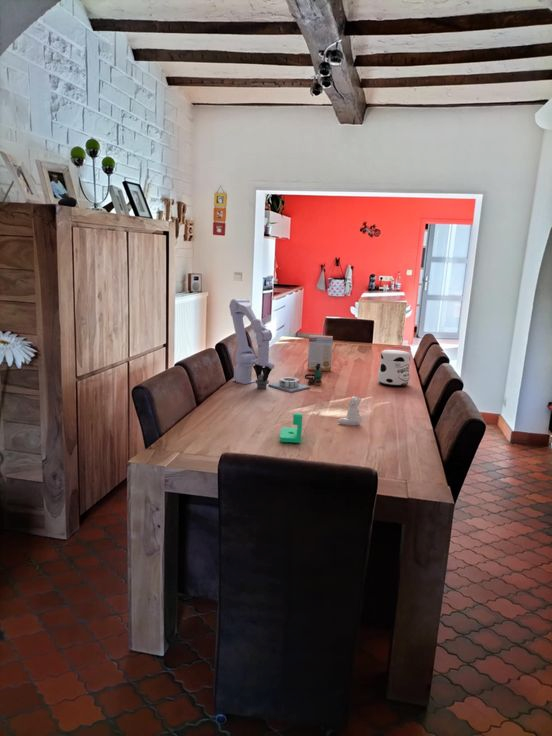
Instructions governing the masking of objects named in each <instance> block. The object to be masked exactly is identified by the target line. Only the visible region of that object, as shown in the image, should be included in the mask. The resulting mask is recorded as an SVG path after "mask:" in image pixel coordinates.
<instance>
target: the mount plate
mask: <svg viewBox="0 0 552 736" xmlns="http://www.w3.org/2000/svg"><path fill="white" fill-rule="evenodd" d="M270 386H271V387H270ZM268 387H270V388H273V387H274V388H273V389H277V388H278V389H277V390H280V389H281V390H282V391H285V392H287V391H288V393H291V394H292V393H297V392H301V391H303V390H304V389H305V390H308V388H309V389H310V386H308V385H305V384H301V383H299V386H298V387H296V388H285V387H281V386H280V385H279V381H278V382H273V383H268ZM300 390H301V391H300ZM305 390H304V391H305Z"/></svg>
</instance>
